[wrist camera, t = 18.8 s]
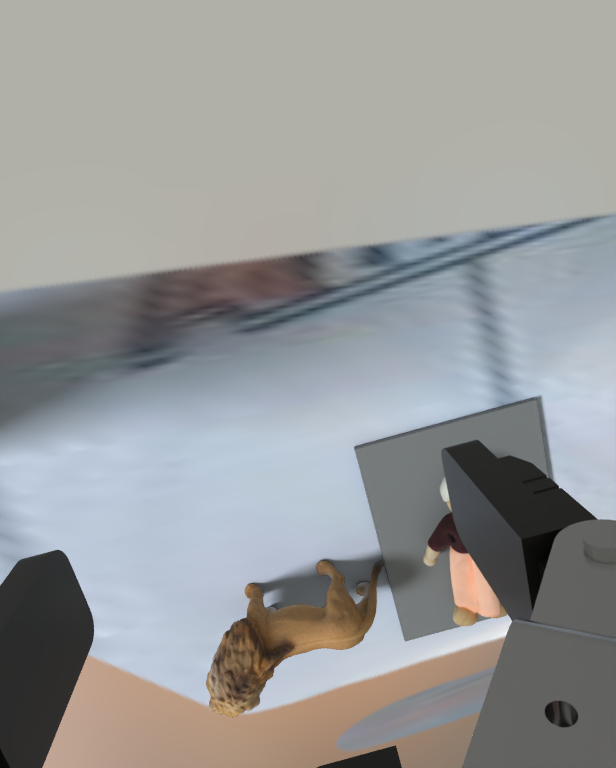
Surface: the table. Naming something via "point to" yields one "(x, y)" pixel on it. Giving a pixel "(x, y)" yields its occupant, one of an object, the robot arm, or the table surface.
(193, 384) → the table surface
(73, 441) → the table surface
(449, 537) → the grandmother figurine
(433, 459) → the mat
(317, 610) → the lion figurine
